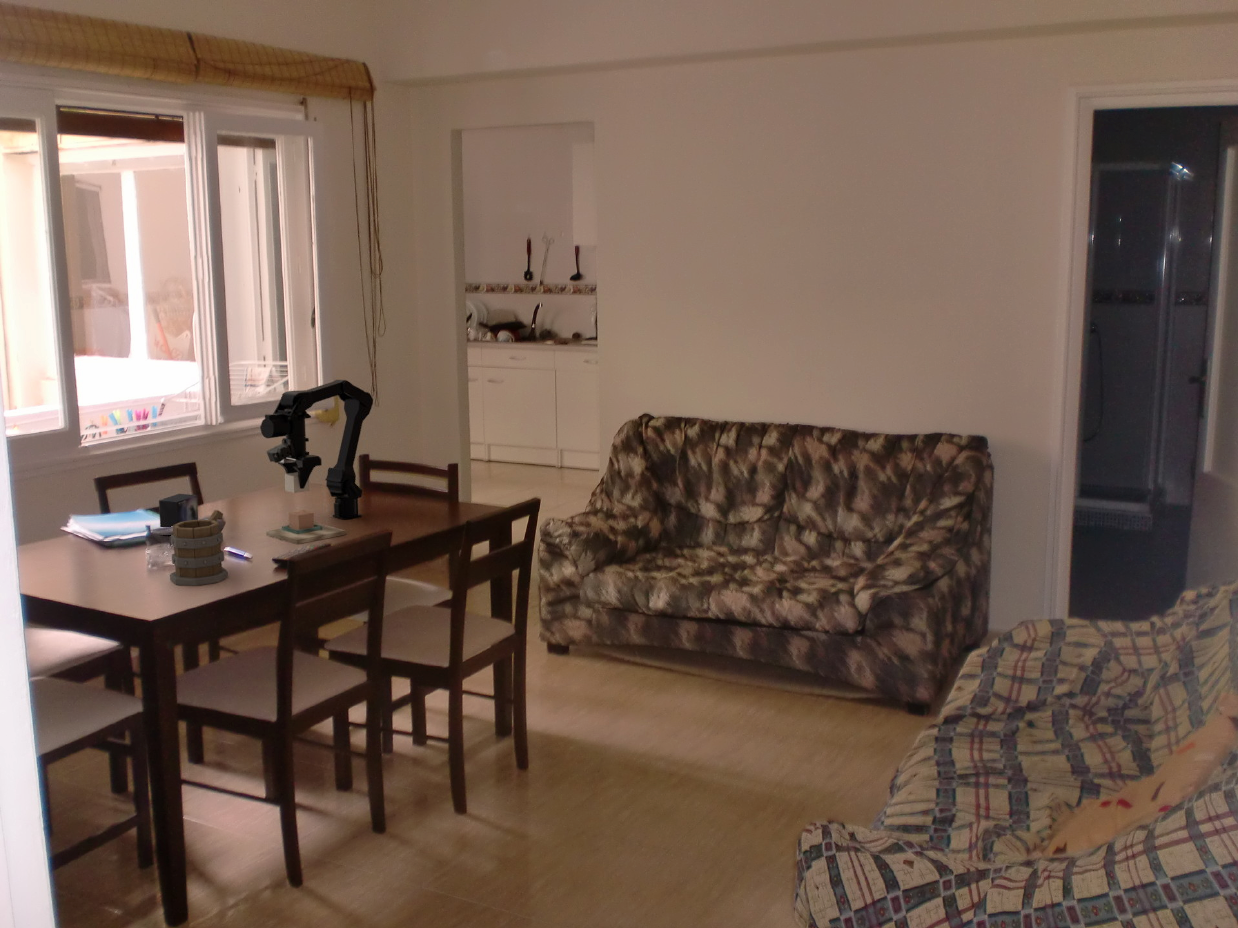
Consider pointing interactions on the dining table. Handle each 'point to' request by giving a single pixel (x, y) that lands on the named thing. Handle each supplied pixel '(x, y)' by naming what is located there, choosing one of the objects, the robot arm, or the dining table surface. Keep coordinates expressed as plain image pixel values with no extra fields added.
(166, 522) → the small box
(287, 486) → the cream block
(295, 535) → the base plate
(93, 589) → the dining table surface
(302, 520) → the terracotta block
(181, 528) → the tankard
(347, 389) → the robot arm
